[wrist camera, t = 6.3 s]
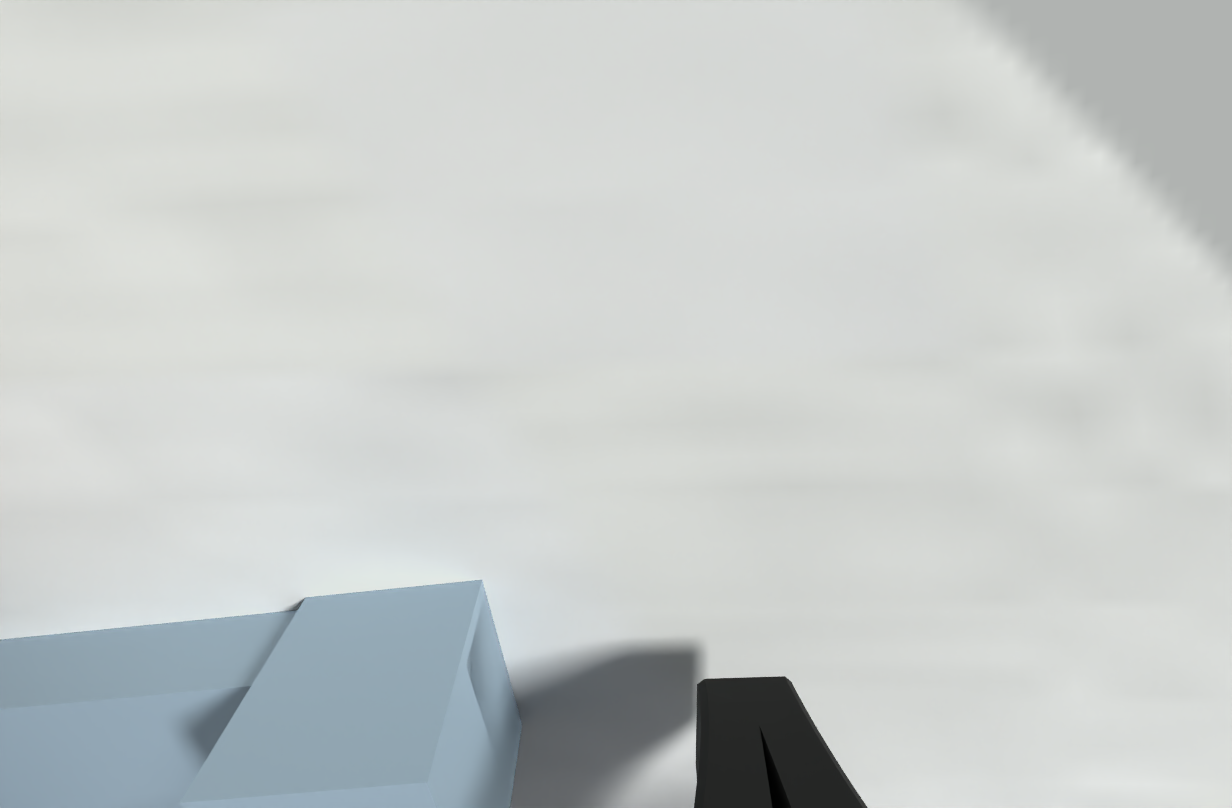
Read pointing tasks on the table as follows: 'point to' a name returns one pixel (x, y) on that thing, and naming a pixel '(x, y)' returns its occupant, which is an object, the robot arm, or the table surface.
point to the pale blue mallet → (268, 709)
